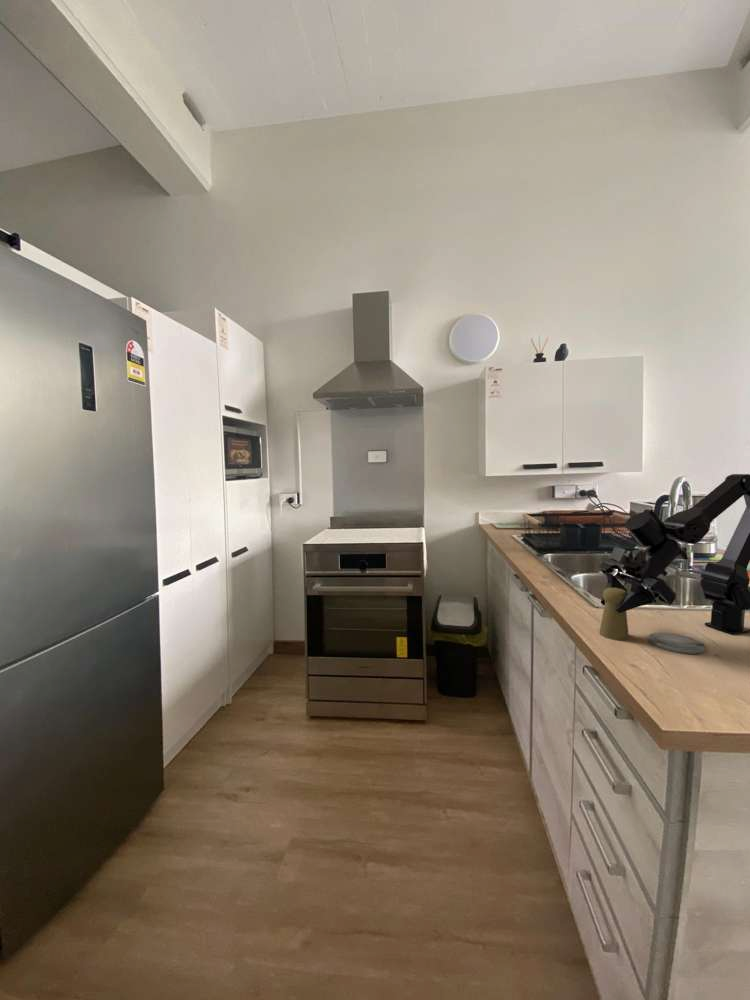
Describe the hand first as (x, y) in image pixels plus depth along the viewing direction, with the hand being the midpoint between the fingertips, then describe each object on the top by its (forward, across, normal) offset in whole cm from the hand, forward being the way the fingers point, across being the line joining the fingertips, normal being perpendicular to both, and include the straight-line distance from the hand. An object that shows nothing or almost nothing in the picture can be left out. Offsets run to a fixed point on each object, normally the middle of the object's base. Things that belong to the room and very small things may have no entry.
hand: (609, 607), depth 99 cm
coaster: (-3, +7, +13) cm, 15 cm away
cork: (+4, 0, +6) cm, 7 cm away
